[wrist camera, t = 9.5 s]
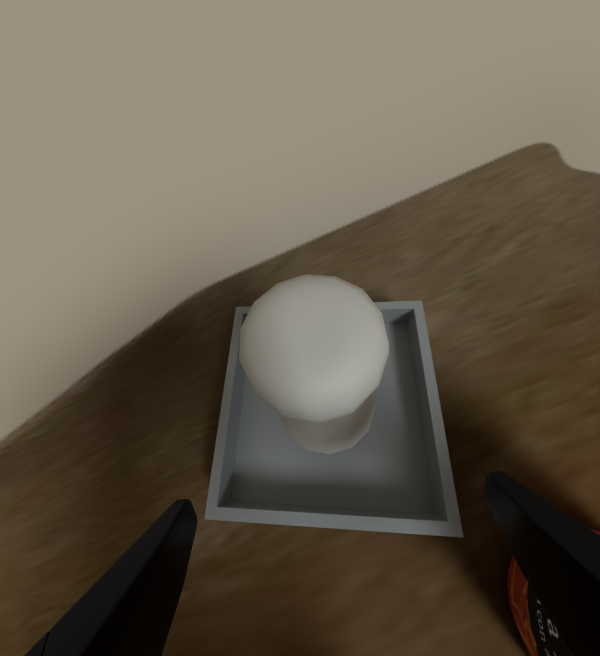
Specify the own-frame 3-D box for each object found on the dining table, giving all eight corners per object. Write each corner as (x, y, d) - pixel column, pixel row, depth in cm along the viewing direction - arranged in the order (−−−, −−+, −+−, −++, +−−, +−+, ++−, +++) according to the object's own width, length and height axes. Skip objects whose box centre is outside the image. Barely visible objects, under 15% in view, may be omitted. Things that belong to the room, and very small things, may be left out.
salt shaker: (271, 391, 20) (173, 296, 8) (339, 352, 20) (341, 210, 9) (312, 472, 17) (256, 506, 6) (388, 424, 18) (484, 363, 6)
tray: (442, 523, 16) (463, 537, 13) (224, 509, 18) (204, 519, 15) (411, 320, 22) (421, 300, 19) (247, 324, 23) (236, 306, 21)
